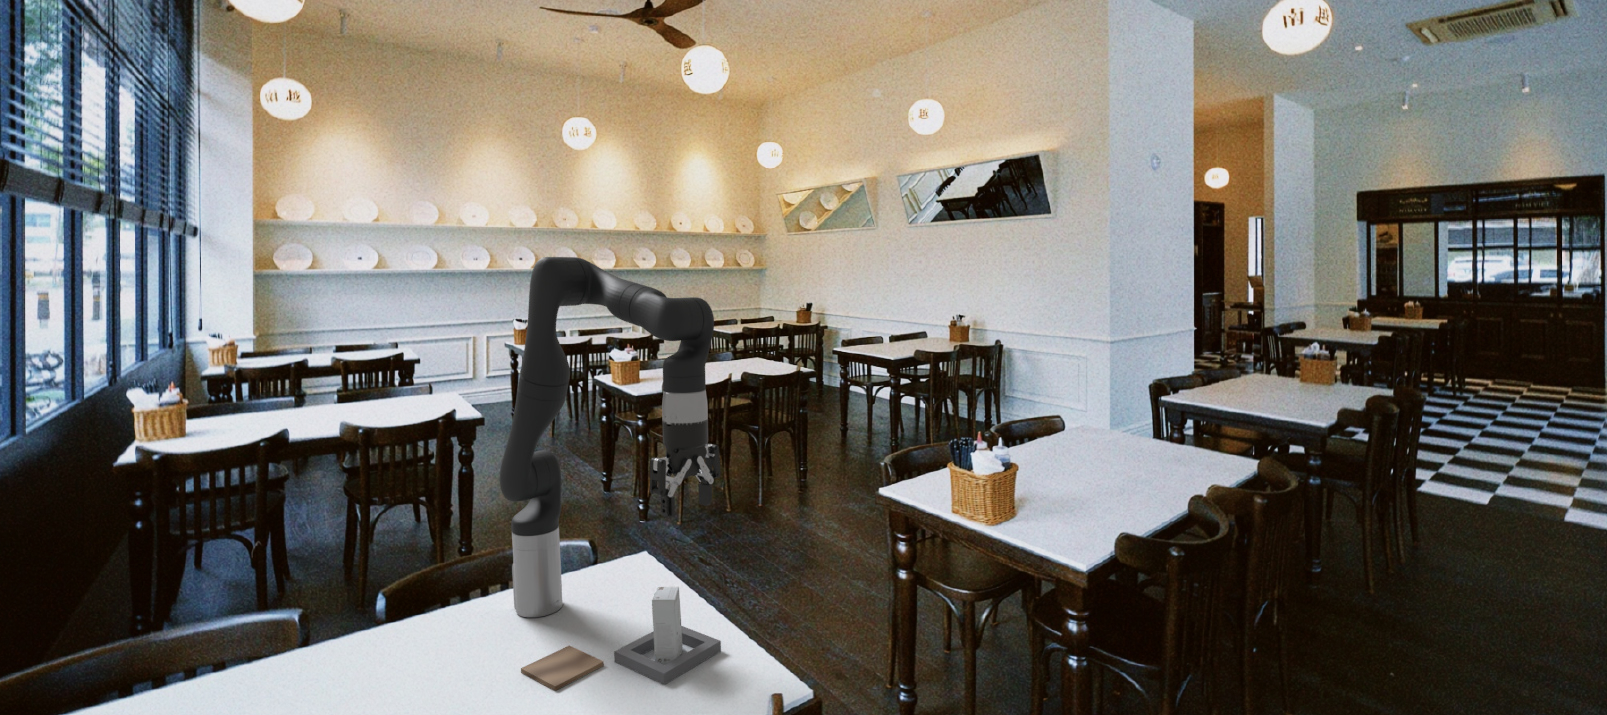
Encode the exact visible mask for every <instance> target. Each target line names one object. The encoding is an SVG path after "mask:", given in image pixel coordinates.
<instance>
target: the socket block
mask: <svg viewBox="0 0 1607 715" xmlns="http://www.w3.org/2000/svg"><path fill="white" fill-rule="evenodd" d="M681 629H682V644H684V645H686V646H689V647H691V648H693V649H691V650H688V651H686V652H685V653H683V654H681V656H680V657H678V658H676V659H674V660H673V661H671V662H669V663H667V664H666V665H663V664H661V663H659V662H656V661H655V659H651V658H649V657H647V656H645V655H644V654H646V653H647V652H650V651H651V650H653V649H654V632H653V631H651V632H648V633H647V634H645V635H642V636H641V637H640V638H638V639H636V640H633V641H632V642H630V643H628V644H625V645H624V646H622V647H620V648H618V649H616V650H614V652H613V654H614V655H613V656H614V659H613V660H614V663H615V664H616V663H617V664H618V665H620V666H623V667H625V668H627V669H630V670H631V671H634V673H635V672H636V673H638V674H640V675H642V676H645V677H646V678H648V679H651V680H653V681H655V682H657V683H659V684H662V685H664V686H665V685H666V684H668V683H670V682H672V681H673V680H675V679H677V678H678V677H679V676H681V675H683V674H686V673H687V672H688V671H690V670H692V669H693V668H695V667H696V666H699V665H700V664H702V663H703V662H705V661H707V660H709V659H710V658H712V657H714V656H716V655H717V654H718V653H721V652H722V649H721V648H722V641H721V640H719V639H716V638H714V637H712V636H709V635H706V634H704V633H701V632H699V631H696V630H693V629H691V628H688V627H685V626H684V625H681Z"/></svg>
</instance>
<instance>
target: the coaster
mask: <svg viewBox="0 0 1607 715" xmlns="http://www.w3.org/2000/svg"><path fill="white" fill-rule="evenodd" d="M604 665H605V663H604V660H601V659H600V658H597V657H595V656H592V655H590V654H589V653H586V652H584V651H583V650H580V649H578V648H576V647H574V646H571V645H567V646H564V647H563V648H560V649H559V650H556V651H554V652H553V653H550V654H548V655H546V656H543V657H542V658H539V659H538V660H536V661H533V662H531V663H529V664H527V665H525V666H523V667H521V668H520V673H521V674H523V675H525V676H527V677H529V679H533V680H534V681H536V682H538V683H540V684H542V685H544V686H545V687H547V688H549V689H551V690H553V691H555V692H556V691H558V690H560V689H561V688H563V687H565V686H567V685H570V684H572V683H574V682H575V681H577V680H580V679H581V678H583V677H585V676H587V675H588V674H591V673H593V672H594V671H596V670H598V669H600V668H602V667H604Z"/></svg>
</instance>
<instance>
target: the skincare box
mask: <svg viewBox="0 0 1607 715" xmlns="http://www.w3.org/2000/svg"><path fill="white" fill-rule="evenodd" d="M651 610H652V611H651V613H652V629H653V631H652V632H654V648H653V649H654V651H653V652H654V661H656V662H659V663H661V664H663V665H666V664H667V663H669V662H671V661H673V660H674V659H676V658H678V657H680V656H682V653H683V652H682V651H683V643H682V629H681V626H682V614H681V613H682V612H681V598H680V587H679V586H661V587H660V586H659V587H657V588H656V590H655V592H654V593H653V597H652V599H651Z"/></svg>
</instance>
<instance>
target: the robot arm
mask: <svg viewBox="0 0 1607 715" xmlns="http://www.w3.org/2000/svg"><path fill="white" fill-rule="evenodd" d="M530 275H531V276H530V281H529V290H528V292H529V294H528V311H527V316H528V317H527V326H526V335H525V341H524V342H525V343H524V350H523V354H522V355H523V356H522V362H521V366H520V370H519V377H518V383H517V389H516V399H515V405H514V411H513V417H512V421H511V427H510V432H509V435H508V438H507V442H506V447H505V448H504V453H503V457H502V461H501V463H500V472H499V487H500V490H501V493H502V495H503V497H504V498H505V499H506V500H508V501H509V502H515V503H517V502H522V501H528V500H529V501H528V503H527V504H526V505H525V506H524V507H523V508H522V509H521V510H520V511H519V512H517V513H516V514H515V515H513V517H512V518H511V522H510V523H511V539H512V540H511V541H512V542H511V543H512V559H513V563H512V564H511V573H512V574H511V575H512V589H513V592H512V593H513V605H514V606H513V608H515V612H516V614H517V615H518V616H520V617H524V618H539V617H544V616H549V615H552V614H554V613H556V612H558V611H559V610H560V609H561V608H562V607H563V583H562V566H561V565H562V563H561V542H560V526H559V520H560V517H561V512H562V471H561V467H560V466H561V465H560V463H559V460H558V457H557V456H556V455H555V454H554V453H553V452H552V451H550V450H547V449H545V450H543V449H542V450H537V451H535V450H536V448H537V445H538V443H539V441H540V440H541V437H542V436H543V434H544V433H545V432H546V430H547V429H548V427H549V426H550V425H551V424H552V422H553V421H554V420H555V419H556V417H557V416H558V414H559V413H560V411H561V410H562V407H563V406H564V404H565V401H566V398H567V393H568V390H569V389H568V387H569V382H570V376H571V367H570V364H569V360H568V358H567V356H566V354H565V352H564V350H563V348H562V346H561V344H560V340H559V339H558V335H557V334H558V333H557V321H558V320H557V319H558V314H559V313H558V312H559V308H560V307H572V306H573V307H574V306H580V305H596V306H598V305H599V306H601V307H602V306H603V307H606V308H607V310H608V311H609V312H610V313H611V315H612V316H614V317H616V318H617V319H619V320H621V321H624V322H627V323H629V324H631V325H635V326H637V327H641V328H643V329H644V330H645V331H646V332H647V333H649V334H651V335H652V336H653V337H654V338H657V339H659V340H662V341H668V342H678V341H680V342H679V346H678V349H677V351H675V353H673V354H671V355H669V356H667V357H666V358H665V359H664V360H663V363H662V385H663V386H662V391H663V392H662V394H663V395H662V402H661V403H662V404H661V410H662V411H661V412H662V422H661V423H662V444H663V446H664V448H665V451H666V452H665V456H663V457H654V456H653V457H651V459H650V460H649V461H650V463H649V468H650V469H649V493H650V494H651V495H655V496H656V495H657V496H658V497H659V498H660V513H661V516H662V518H665V519H668V520H672V519H675V517H676V512H675V511H676V504H675V496H674V494H675V492H676V490H677V488H678V486H680V485H681V484H682V482H683V480H685V479H688V478H690V477H691V476H692V477H696V479H697V480H698V481H699V482H700V483H699V482H698V503H699V505H700V506H701V505H702V506H705V507H708V506H710V505H711V503H712V499H713V495H712V494H713V483H714V481H715V480H716V479H719V478H720V477H721V474H722V473H721V459H720V447H719V446H720V445H719V444H714V443H713V444H712V443H709V419H708V418H709V416H708V412H709V411H708V397H707V391H706V390H707V387H706V364H707V360H708V357H709V352H710V348H711V343H712V340H713V335H714V329H715V317H714V313H713V310H712V308H711V306H710V304H709V303H708V302H707V300H706V299H703V298H701V297H694V296H693V297H667V295H666V294H665V293H664V292H662V291H661V290H659V289H657V288H654V287H652V286H647V285H644V284H641V283H638V282H633V281H630V280H627V279H624V278H620V277H618V276H616V275H614V274H612V273H609V272H607V271H606V270H604V269H603V268H601V267H599V266H598V265H596V264H594V263H593V262H590V261H588V260H586V259H583V258H581V257H575V256H544V257H541V258H540V259H538V260H537V261H536V262H535V264H534V266H533V269H532V273H531V274H530ZM672 476H674V477H672Z"/></svg>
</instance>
